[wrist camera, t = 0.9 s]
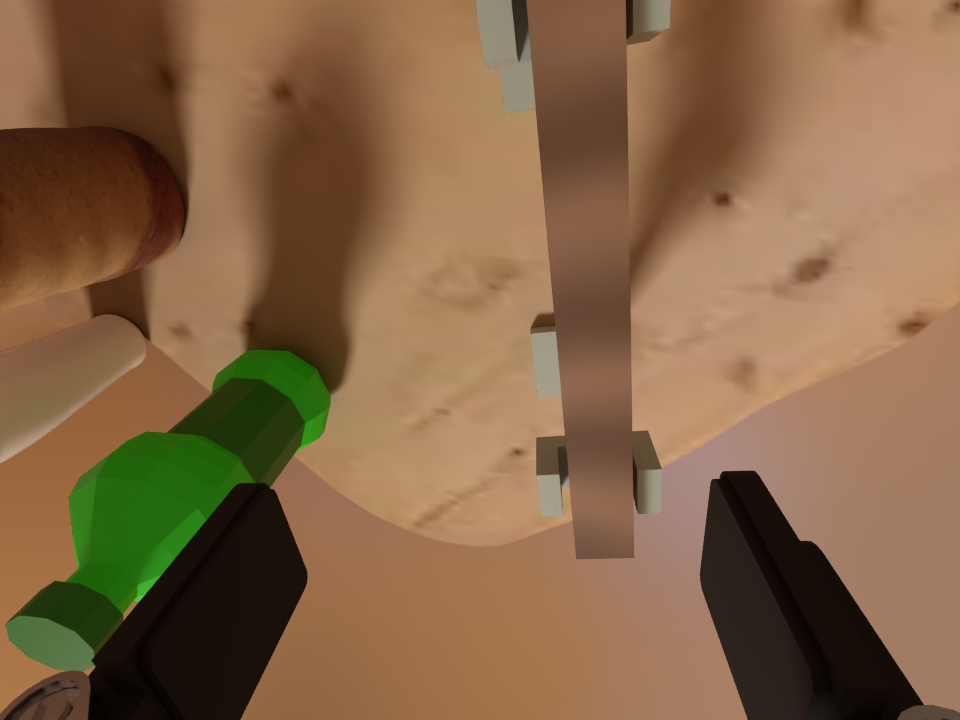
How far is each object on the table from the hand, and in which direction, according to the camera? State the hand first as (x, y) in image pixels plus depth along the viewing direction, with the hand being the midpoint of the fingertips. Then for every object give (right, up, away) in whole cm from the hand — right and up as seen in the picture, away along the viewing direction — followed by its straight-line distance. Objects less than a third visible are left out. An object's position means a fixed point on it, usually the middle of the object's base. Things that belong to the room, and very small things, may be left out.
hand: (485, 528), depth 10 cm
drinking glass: (-33, +6, +34) cm, 48 cm away
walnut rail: (+5, +7, +13) cm, 15 cm away
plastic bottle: (-18, +2, +34) cm, 39 cm away
